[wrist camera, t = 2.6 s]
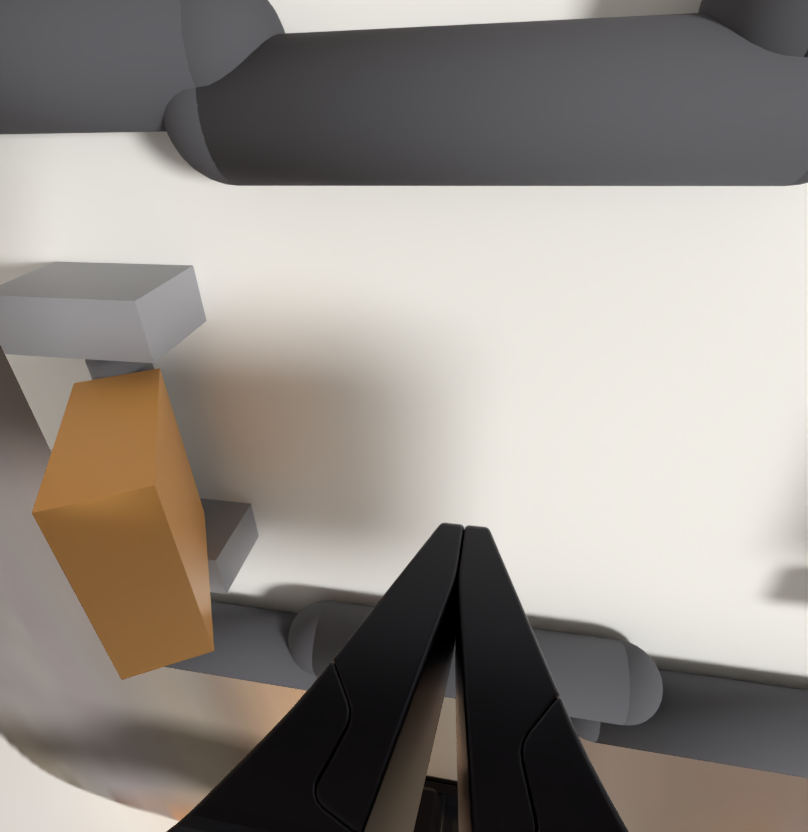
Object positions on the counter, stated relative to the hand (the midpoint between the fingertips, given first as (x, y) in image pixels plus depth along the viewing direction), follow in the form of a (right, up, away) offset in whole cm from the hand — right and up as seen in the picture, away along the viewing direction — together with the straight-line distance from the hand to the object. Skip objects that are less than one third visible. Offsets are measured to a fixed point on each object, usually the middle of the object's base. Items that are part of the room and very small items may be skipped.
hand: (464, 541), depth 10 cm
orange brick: (-7, +2, +3) cm, 8 cm away
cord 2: (+1, -4, +6) cm, 8 cm away
